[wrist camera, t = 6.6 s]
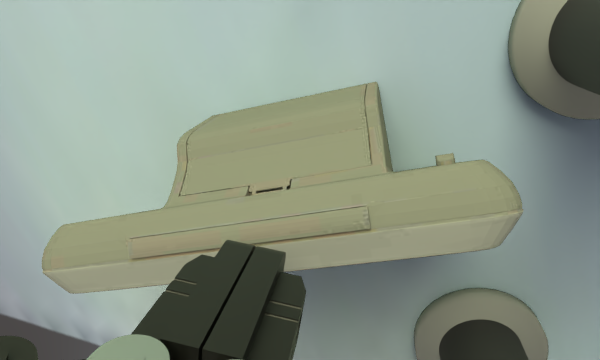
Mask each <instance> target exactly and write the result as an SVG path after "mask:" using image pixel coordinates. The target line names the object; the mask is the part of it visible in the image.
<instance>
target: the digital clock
mask: <svg viewBox="0 0 600 360" xmlns="http://www.w3.org/2000/svg"><path fill="white" fill-rule="evenodd" d="M177 157H178V166H177V172H176V176H175V180H174V183H173V187H172V190H171V193H170V196H169V198H168V201H167V203H166V204H165V206H164V207H163V208H161V209H157V210H151V211H145V212H139V213H132V214H126V215H120V216H114V217H108V218H102V219H96V220H90V221H84V222H77V223H71V224H65V225H62V226H61V227H60V228H59V229H58V230H57V231H56V232H55V234H54V235H53V236H52V237H51V239H50V241H49V242H48V244H47V246H46V248H45V249H44V253H43V257H42V269H43V273H44V274H45V275H46V276H47V277H49V278H50V279H51V280H53V281H54V282H55V283H56V284H58V285H59V286H61V287H62V288H63V289H65V290H66V291H68V292H69V293H73V294H74V293H88V292H99V291H109V290H119V289H129V288H138V287H147V286H157V285H166V284H170V283H171V282H172V281H173V280H174V279H175V277H176V275H177V274H178V273H179V271H180V270H181V269H182V268H183V266H184V265H185V264H186V263H188V262H190V261H191V260H193V259H195V258H197V257H198V256H200V255H202V254H203V255H207V256H211V257H215V256H216V254H217V253H218V252H219V250H220V249H221V247H222V246H223V244H224V243H225V241H226V240H232V241H237V242H241V243H246V244H250V245H255V246H256V247H257V246H260V247H264V248H269V249H273V250H278V251H283V252H286V258H285V265H284V272H289V271H298V270H307V269H317V268H326V267H336V266H345V265H354V264H364V263H373V262H383V261H392V260H401V259H411V258H420V257H429V256H438V255H446V254H455V253H464V252H473V251H480V250H486V249H491V248H495V247H497V246H499V245H501V243H502V242H503V241H504V239H505V238H506V237H507V235H508V234H509V233H510V231H511V230H512V229H513V227H514V226H515V224H516V223H517V221H518V220H519V218H520V216H521V215H522V213H523V209H522V202H521V199H520V195H519V193H518V191H517V190H516V188H515V186H514V184H513V183H512V181H511V180H510V179H509V178H508V177H506V176H505V175H504V174H503V173H502V172H501V171H500V170H499V169H498V168H496V167H495V166H494V165H492V164H491V163H490V162H488V161H485V160H475V161H467V162H459V163H455V159H454V154H453V153H451V154H445V155H439V156H435V157H436V165H437V166H431V167H425V168H419V169H412V170H406V171H399V172H393V169H392V163H391V157H390V151H389V145H388V139H387V134H386V128H385V122H384V116H383V110H382V104H381V98H380V92H379V87H378V83H377V82H372V83H368V84H363V85H358V86H353V87H348V88H344V89H339V90H334V91H329V92H324V93H320V94H315V95H310V96H305V97H300V98H296V99H291V100H286V101H281V102H277V103H272V104H267V105H262V106H257V107H253V108H248V109H243V110H238V111H233V112H229V113H224V114H219V115H214V116H211V117H210V118H208V119H207V120H205V121H203V122H202V123H200V124H199V125H197V126H195V127H194V128H192V129H191V130H189V131H188V132H186V133H185V134H184V135H183V136H182V137H181V138H180V139H179V141H178V144H177ZM379 175H381V176H379ZM373 176H374V177H373ZM366 177H367V178H366Z"/></svg>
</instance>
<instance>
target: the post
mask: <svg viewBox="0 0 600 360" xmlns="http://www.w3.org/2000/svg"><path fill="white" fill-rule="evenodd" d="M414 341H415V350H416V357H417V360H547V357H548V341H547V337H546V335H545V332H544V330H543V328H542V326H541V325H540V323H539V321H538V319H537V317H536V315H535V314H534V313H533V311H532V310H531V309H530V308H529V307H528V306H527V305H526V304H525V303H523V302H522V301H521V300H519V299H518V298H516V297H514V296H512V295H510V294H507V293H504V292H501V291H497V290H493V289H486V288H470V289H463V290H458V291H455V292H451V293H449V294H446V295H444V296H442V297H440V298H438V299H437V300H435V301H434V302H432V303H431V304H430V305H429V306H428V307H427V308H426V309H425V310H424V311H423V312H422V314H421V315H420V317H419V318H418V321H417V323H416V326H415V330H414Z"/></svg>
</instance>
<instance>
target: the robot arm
mask: <svg viewBox="0 0 600 360" xmlns="http://www.w3.org/2000/svg"><path fill="white" fill-rule="evenodd" d="M285 258H286V252H283V251H278V250H273V249H269V248H264V247H260V246H257V247H256V246H255V245H250V244H246V243H241V242H237V241H232V240H226V241H225V243H224V244H223V246H222V247H221V249H220V250H219V252H218V253H217V254H216V256H215V257H211V256H207V255H203V254H202V255H200V256H198V257H197V258H195V259H193V260H191V261H190V262H188V263H186V264H185V265H184V266H183V268H182V269H181V270H180V271H179V273H178V274H177V275H176V277H175V279H174V280H173V281H172V282H171V283H170V284H169V286H168V287H167V288H166V291H165V292H163V293H162V295H161V296H160V297H159V299H158V300H157V301H156V303H155V304H154V305H153V306H152V308H151V309H150V310H149V312H148V313H147V314H146V316H145V317H144V318H143V319H142V321H141V322H140V323H139V325H138V326H137V327H136V329H135V330H134V331H133V332H132V334H131V335H125V336H121V337H117V338H115V339H112V340H110V341H108V342H106V343H104V344H103V345H101V346H100V347H99V348H97V349H96V350H95V351H94V352H93V353H92V354H91V355H90V356H89V357H88V358H87V359H83V360H292V359H293V355H294V351H295V347H296V343H297V339H298V334H299V328H300V323H301V317H302V312H303V306H304V301H305V295H306V290H305V287H304V284H303V281H302V278H301V276H296V275H292V274H287V273H283V272H284V265H285ZM0 360H38V354H37V349H36V348H35V346H34V344H32V343H31V342H30V341H28V340H27V339H24V338H21V337H16V336H0Z"/></svg>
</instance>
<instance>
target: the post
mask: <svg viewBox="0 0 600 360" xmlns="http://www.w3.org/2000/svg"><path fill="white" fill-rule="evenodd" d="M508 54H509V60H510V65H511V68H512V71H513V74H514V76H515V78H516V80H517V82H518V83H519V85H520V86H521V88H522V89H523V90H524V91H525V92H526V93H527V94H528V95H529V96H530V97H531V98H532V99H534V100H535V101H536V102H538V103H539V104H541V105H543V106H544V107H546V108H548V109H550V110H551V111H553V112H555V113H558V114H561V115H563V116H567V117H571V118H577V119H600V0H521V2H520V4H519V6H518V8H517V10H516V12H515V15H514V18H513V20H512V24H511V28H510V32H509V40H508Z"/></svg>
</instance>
